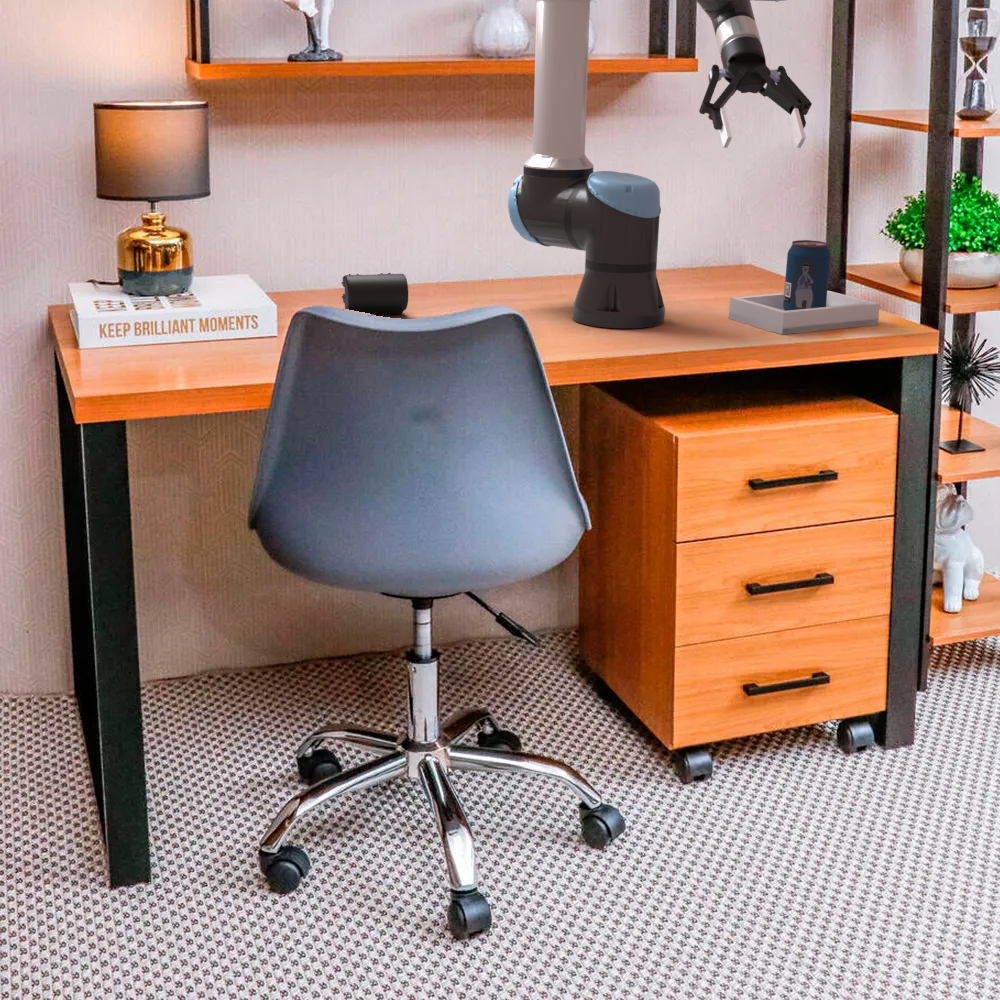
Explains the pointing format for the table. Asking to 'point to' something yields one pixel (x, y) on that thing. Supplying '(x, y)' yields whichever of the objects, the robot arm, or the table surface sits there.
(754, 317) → the tray
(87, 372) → the table surface
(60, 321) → the table surface
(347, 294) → the end cap
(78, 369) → the table surface
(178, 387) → the table surface
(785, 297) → the soda can
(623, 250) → the robot arm
